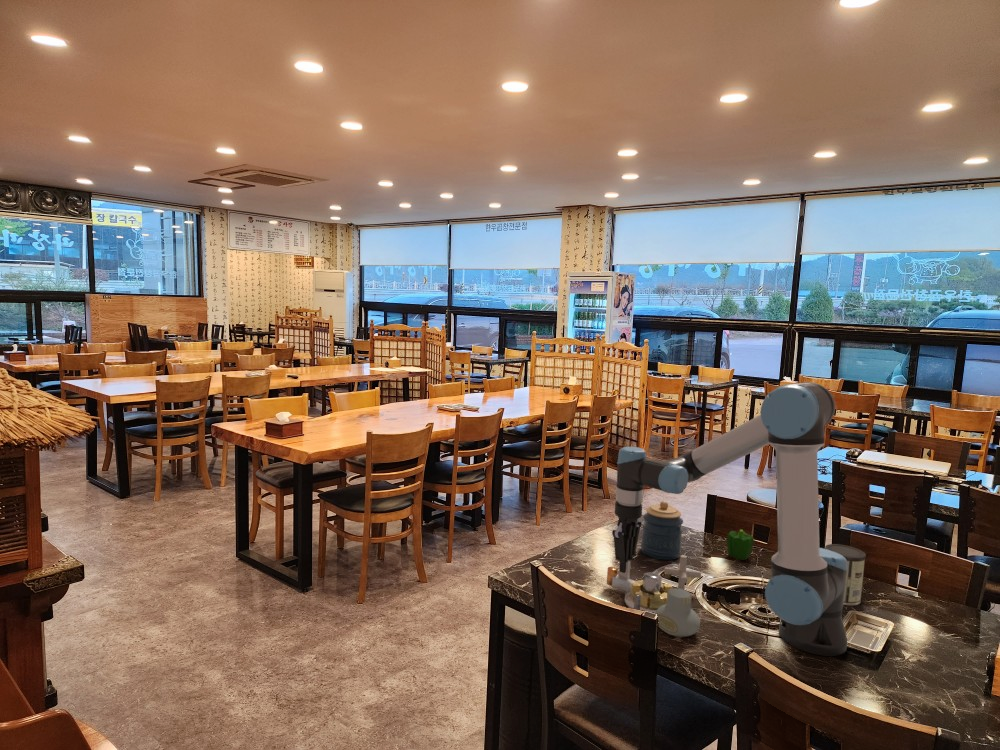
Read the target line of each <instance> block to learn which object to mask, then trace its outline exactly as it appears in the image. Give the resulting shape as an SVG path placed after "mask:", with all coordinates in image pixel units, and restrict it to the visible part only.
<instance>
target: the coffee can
mask: <svg viewBox="0 0 1000 750" xmlns="http://www.w3.org/2000/svg"><path fill="white" fill-rule="evenodd" d="M824 549H827V550H830V551H833V552H836V553H838V554H840V555H842V556H844V557H845V558H846V560H847V570H848V572H847V574H846V583H845V592H844V600H843V606H858V605H860V604H861V602H862V601H861V598H862V592H863V591H862V590H863V589H862V588H863V579H864V573H865V572H864V571H865V560H866V558H867V555H866V553H865V551H863V550H861V549H859V548H856V547H855V546H850V545H846V544H840V543H832V544H831V543H829V544H826V545H825V547H824Z"/></svg>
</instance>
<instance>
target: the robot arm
mask: <svg viewBox="0 0 1000 750" xmlns="http://www.w3.org/2000/svg"><path fill="white" fill-rule="evenodd" d="M834 398H835V397H834V396H833V394H832V393H831V392H830V390H829V389H828V388H826V387H824V386H823V385H821V384H819V383H817V382H812V381H811V382H809V381H805V382H798V383H791V384H783V385H781V386H778V387H777V388H775V389H773V390H772V391H770V392H769V393H768V394H767V395H766V396H765V398H764V399H763V401H762V403H761V406H760V415H757V416H755V417H754V418H751V419H750V420H748V421H746V422H744V423H742V424H740V425H738V426H736V427H735V428H732V429H731V430H729V431H727V432H725V433H723V434H721V435H719V436H717V437H715V438H713V439H712V440H709V441H708V442H706V443H704V444H701V445H700V446H698V447H696V448H694V449H692V450H690V451H688V452H686V453H684V454H682V455H680V456H678V457H675V458H671V459H667V460H664V461H661V460H655V459H651V458H648V457H647V452H646V450H645V449H643V448H641V447H638V446H625V447H624V446H623V447H621V448H620V449H619V451H618V456H617V462H616V465H617V471H616V485H615V486H616V487H615V500H616V501H615V502H614V504H615V505H614V514H615V516H617V518H618V521H617V525H616V526H617V528H616V529H613V530H612V531H611V533H612V536H613V544H614V557H615V560H616V561H618V562H619V565H618V566H619V567H618V575H621V576H623V577H626V578H629V579H631V578H630V576H631V575H630V574H631V561H632V562H633V561H635V557H634V556H636V551H637V547H638V546H637V545H638V540H639V534H640V529H641V526H642V525H643V524H642V521H640V520H638V519H640V518H642V517H643V515H642V514H643V503H644V502H643V501H644V487H647V488H651V489H655V490H659V491H662V492H665V493H668V494H675V495H680V494H682V493H683V492H684V491H685V490H686V489H687V486H688V483H692V482H695V481H697V480H698V481H699V480H700V479H701V478H702V477H704V476H706V475H708V474H710V473H712V472H714V471H716V470H718V469H720V468H723V467H724V466H727V465H729V464H730V463H733V462H735V461H736V460H739V459H741V458H743V457H745V456H747V455H749V454H752V453H753V452H756V451H758V450H759V449H762V448H764V447H766V446H768V445H770V446H771V447H772V448H774V449H775V468H776V469H775V471H776V472H775V474H776V479H775V480H776V508H777V509H776V512H777V514H776V516H777V518H776V519H777V552H776V553H774V554H773V555H772V556H771V558H770V559H771V562H770V563H771V578H770V579H769V580H768V581H767V583H766V585H765V588H764V590H765V591H764V597H765V600H766V603H767V605H768V607H769V609H770V610H771V611H772V612H773V613H774V614H775V615H776V616H777V617H778V618H779V619H780V621H779V625H778V626H779V627H778V634H779V636H780V638H781V639H783V640H784V641H785V642H786V643H787V644H789V645H791V646H792V647H793V648H796V649H798V650H800V651H803V652H806V653H808V654H811V655H812V654H813V655H816V656H817V655H819V656H823V657H836V656H837V657H838V656H840V655H843V654H845V653H846V651H847V648H848V637H847V633H846V632H847V631H846V628H845V625H844V621H843V616H842V615H843V608H844V605H843V600H844V592H845V583H846V574H847V572H848V570H847V560H846V558H845V557H844V556H842V555H840V554H838V553H836V552H833V551H830V550H827V549H825V548H823V547H820V524H819V523H820V515H819V511H820V510H819V471H818V470H819V469H818V451H819V450H820V449H821V448H822V447H823V446H825V443H826V442H825V440H826V439H825V427H826V426H827V425H828V424H829V423H830V422H831V421H832V419H833V417H834V416H835V412H836V402H835V399H834Z"/></svg>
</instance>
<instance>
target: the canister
mask: <svg viewBox="0 0 1000 750" xmlns="http://www.w3.org/2000/svg"><path fill="white" fill-rule="evenodd" d="M645 511H646V513H644V514H643V515H642V519H643V521H644V522H643V524H642V525H641V526H642V533H641V535H642V536H641V542H640V547H641V553H643V554H644V555H646V556H648V557H650V558H653V559H656V560H657V559H658V560H665V561H666V560H667V561H671V560H676V559H678V558H680V556H681V555H680V554H681V552H682V535H683V529H682V525H683V524H684V520H683V518H682V517H681V516H682V513H681V511H679V510H678V509H677V508H676V507H674V506H672V505H669V503H668V502H667V501H664V500H663V501H660V504H657V503H656V504H653V505H651V506H648V507H646V509H645Z"/></svg>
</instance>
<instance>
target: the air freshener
mask: <svg viewBox="0 0 1000 750" xmlns="http://www.w3.org/2000/svg"><path fill="white" fill-rule="evenodd" d="M692 596H693V595H692V594H691V592H689V591H688V590H686V589H684V590H683V589H679V588H678V587H676V588H675V587H674V588H673V587H672V589H670V590H668V592H667V602H666V604H665V605H662V606H661V607H659V608H658V609H657V611H656V613H655V614H657V616H658V620H659V626H658V627H659V628H660V629H661V630H662V631H663V632H665V633H666V634H668V635H670V636H674V637H679V638H684V637H685V638H686V637H690V636H693V635H695V634H696V633H697V632H698V631H699V629H700V626H701V619H700V617H699V615H698V614H697V613H696V611H694V609H692Z"/></svg>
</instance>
